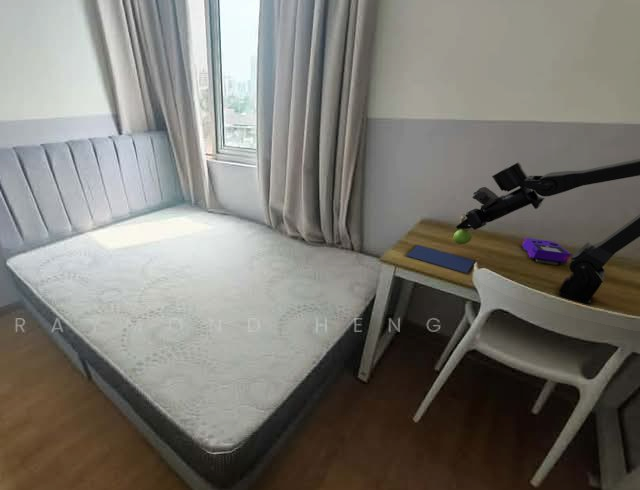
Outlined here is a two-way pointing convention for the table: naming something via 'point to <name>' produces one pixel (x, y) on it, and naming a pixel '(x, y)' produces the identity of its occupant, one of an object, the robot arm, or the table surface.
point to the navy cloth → (441, 259)
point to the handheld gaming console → (545, 251)
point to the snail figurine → (462, 234)
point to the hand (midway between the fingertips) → (461, 225)
